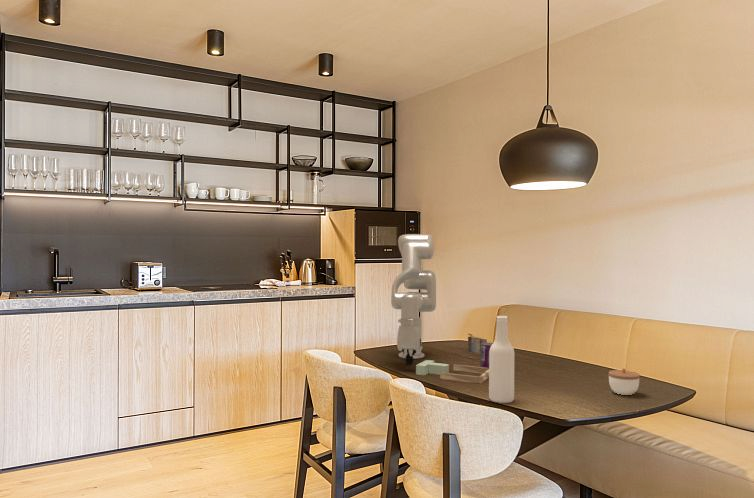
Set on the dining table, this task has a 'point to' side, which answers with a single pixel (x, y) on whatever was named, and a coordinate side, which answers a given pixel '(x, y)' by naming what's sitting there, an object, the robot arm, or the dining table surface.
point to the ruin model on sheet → (475, 343)
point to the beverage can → (484, 354)
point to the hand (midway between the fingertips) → (409, 364)
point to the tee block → (431, 368)
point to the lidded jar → (624, 381)
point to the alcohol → (501, 365)
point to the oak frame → (467, 378)
